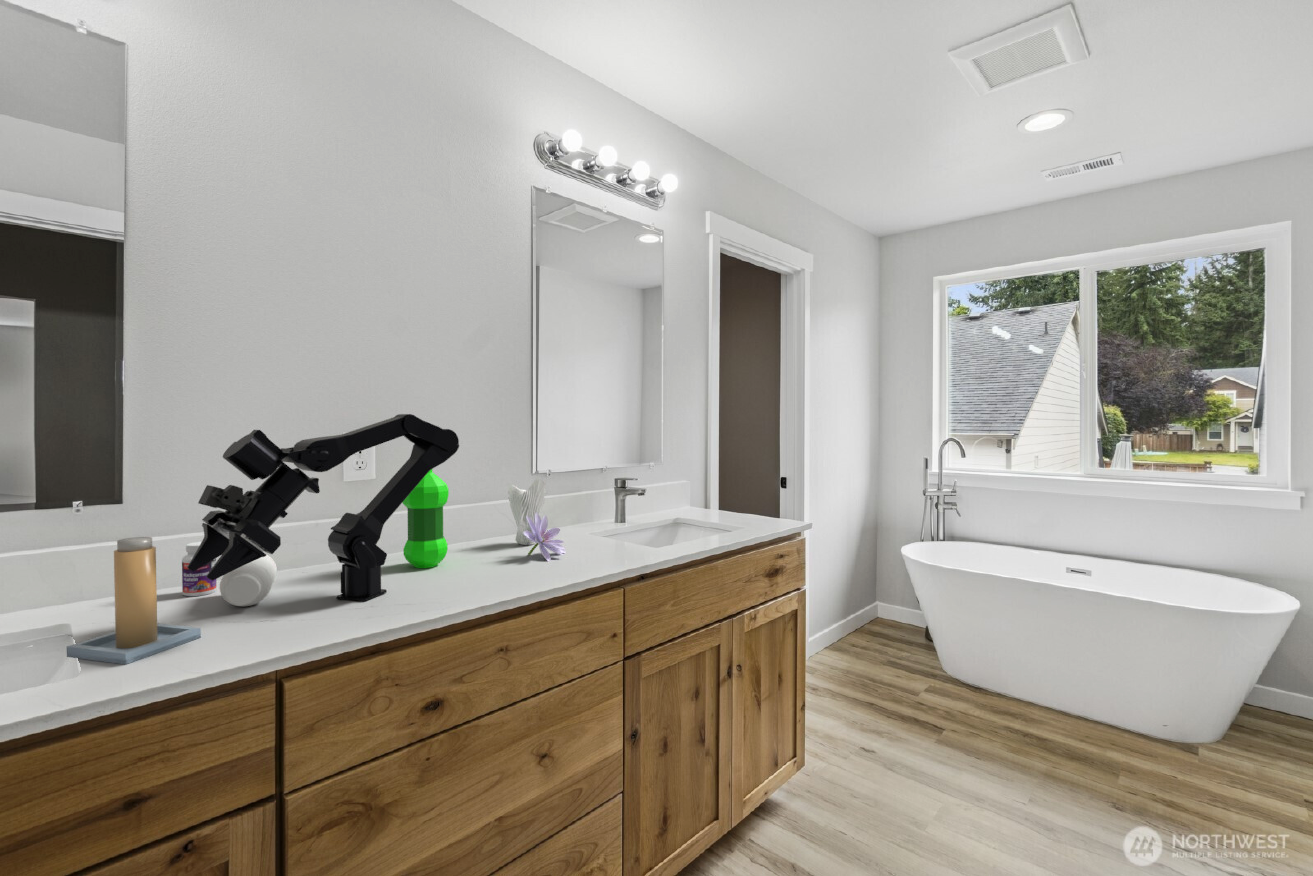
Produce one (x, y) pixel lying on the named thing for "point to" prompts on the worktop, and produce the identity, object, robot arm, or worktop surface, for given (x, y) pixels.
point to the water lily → (543, 537)
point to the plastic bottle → (426, 522)
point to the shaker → (135, 592)
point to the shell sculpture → (526, 507)
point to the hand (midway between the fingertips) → (199, 574)
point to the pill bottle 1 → (196, 575)
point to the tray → (108, 652)
